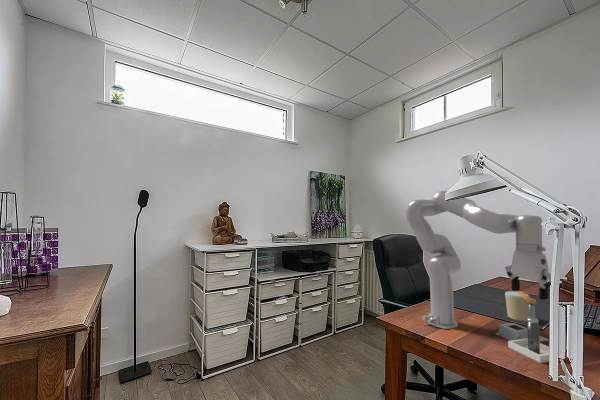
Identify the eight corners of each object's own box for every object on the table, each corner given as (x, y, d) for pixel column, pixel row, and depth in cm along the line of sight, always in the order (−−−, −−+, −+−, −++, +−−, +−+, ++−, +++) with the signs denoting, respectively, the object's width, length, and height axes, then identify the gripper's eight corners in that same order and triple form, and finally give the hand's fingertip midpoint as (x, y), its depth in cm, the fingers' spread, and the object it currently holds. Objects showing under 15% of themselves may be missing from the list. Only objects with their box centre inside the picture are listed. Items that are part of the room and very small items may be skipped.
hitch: (519, 346, 103) (517, 310, 104) (494, 334, 113) (493, 302, 113) (550, 341, 107) (548, 306, 107) (524, 330, 116) (522, 299, 117)
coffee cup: (518, 314, 134) (517, 290, 135) (535, 322, 125) (534, 296, 126) (501, 315, 134) (500, 291, 135) (516, 322, 125) (515, 297, 125)
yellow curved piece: (515, 294, 124) (515, 290, 124) (523, 294, 123) (523, 291, 123) (528, 303, 111) (528, 299, 111) (537, 304, 110) (537, 300, 110)
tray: (540, 364, 90) (540, 356, 91) (508, 348, 101) (508, 341, 101) (562, 360, 93) (561, 352, 93) (528, 345, 103) (528, 338, 104)
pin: (535, 355, 95) (533, 321, 96) (526, 350, 98) (524, 317, 99) (542, 353, 96) (540, 320, 96) (532, 349, 99) (531, 316, 100)
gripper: (563, 252, 91) (564, 302, 91) (513, 244, 108) (513, 287, 108) (547, 252, 90) (547, 303, 89) (498, 245, 106) (498, 288, 106)
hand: (529, 294), depth 99 cm, fingers open, 9 cm apart
